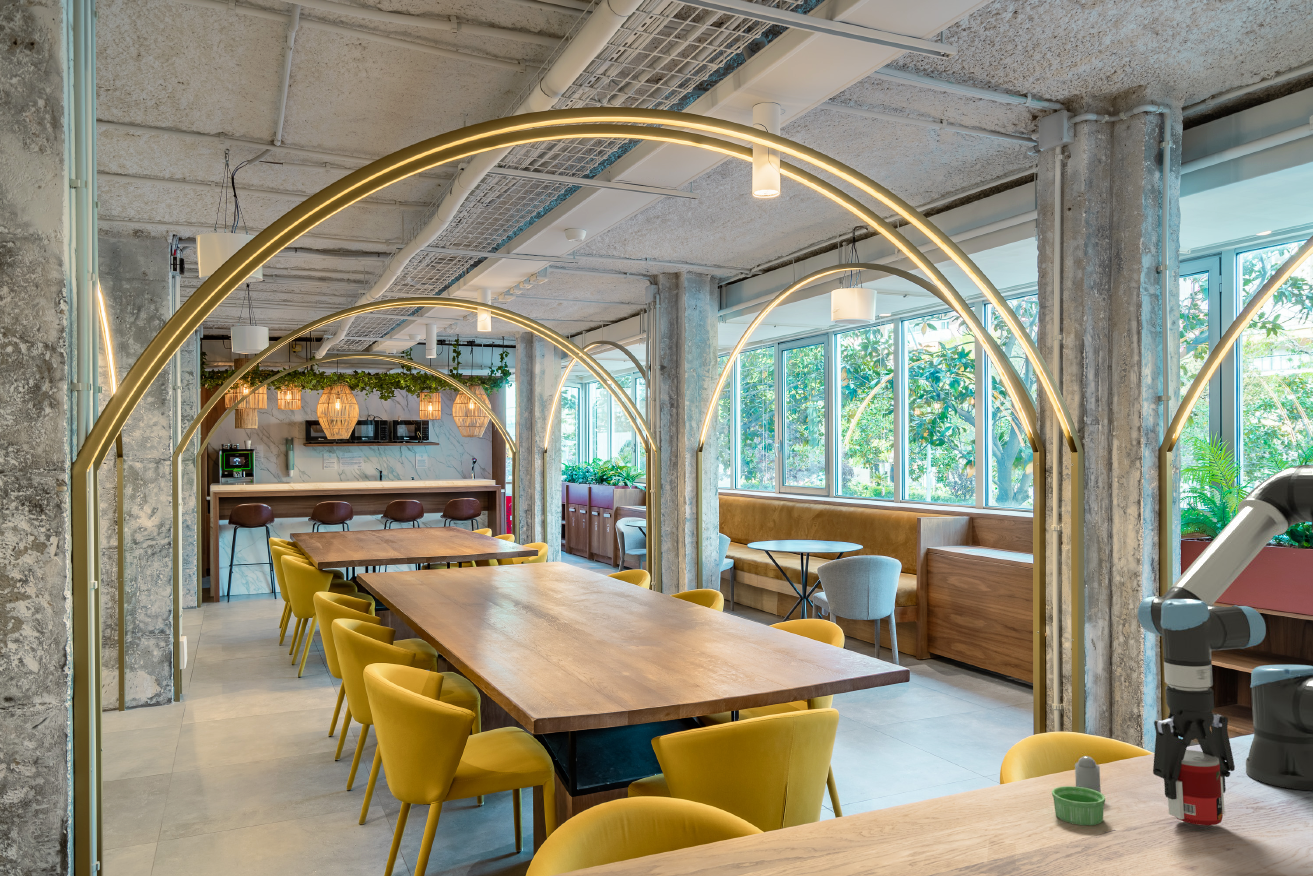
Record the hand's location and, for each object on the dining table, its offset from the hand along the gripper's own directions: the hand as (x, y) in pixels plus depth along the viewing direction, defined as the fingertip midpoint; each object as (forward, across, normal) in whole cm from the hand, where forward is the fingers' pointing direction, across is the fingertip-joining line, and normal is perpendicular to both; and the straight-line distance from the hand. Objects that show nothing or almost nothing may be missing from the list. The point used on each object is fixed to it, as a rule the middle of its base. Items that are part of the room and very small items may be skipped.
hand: (1196, 813), depth 160 cm
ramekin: (+2, -17, +9) cm, 20 cm away
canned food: (+1, 0, 0) cm, 1 cm away
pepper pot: (+2, -8, +18) cm, 20 cm away
